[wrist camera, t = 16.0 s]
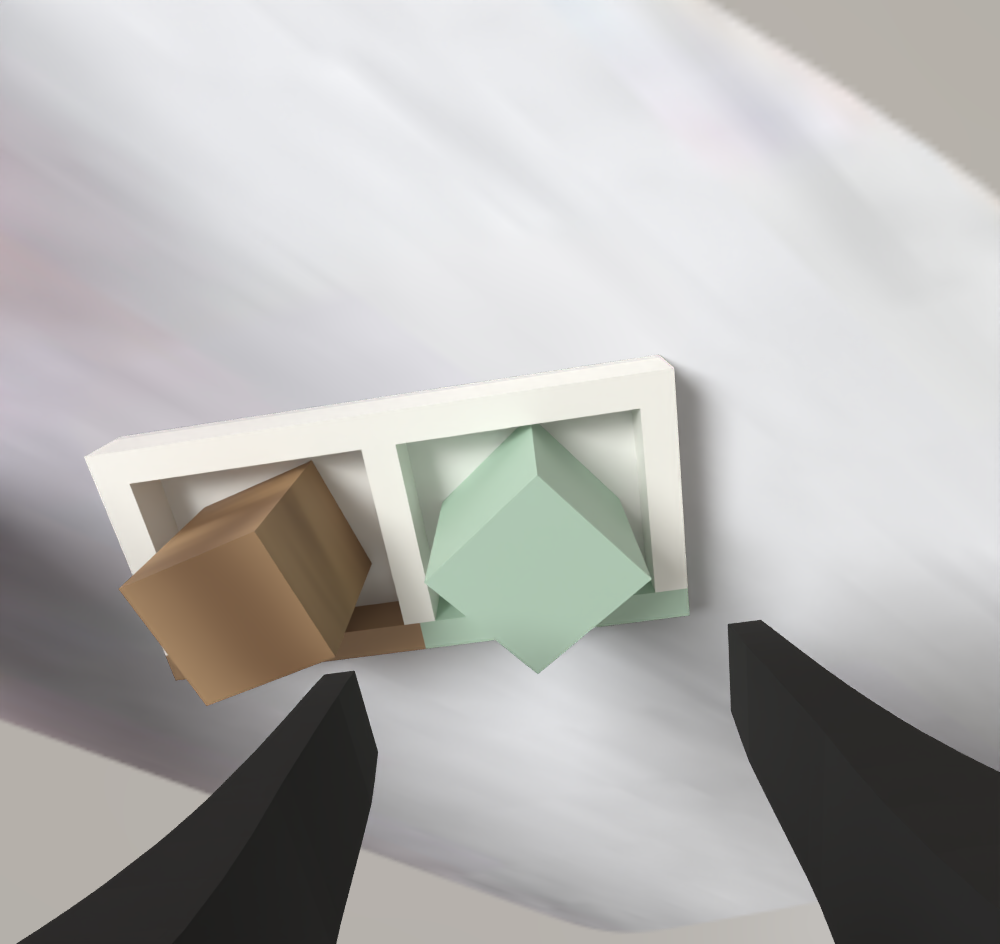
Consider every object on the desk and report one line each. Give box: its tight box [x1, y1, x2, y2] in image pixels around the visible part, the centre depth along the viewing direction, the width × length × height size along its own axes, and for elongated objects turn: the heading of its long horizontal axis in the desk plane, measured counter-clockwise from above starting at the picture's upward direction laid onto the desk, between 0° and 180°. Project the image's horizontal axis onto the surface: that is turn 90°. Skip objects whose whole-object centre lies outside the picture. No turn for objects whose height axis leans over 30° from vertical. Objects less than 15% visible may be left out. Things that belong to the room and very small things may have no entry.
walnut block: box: [119, 461, 372, 706], centre depth 19 cm, size 4×4×5 cm
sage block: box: [424, 423, 652, 674], centre depth 19 cm, size 4×4×5 cm
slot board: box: [84, 355, 689, 680], centre depth 21 cm, size 17×8×2 cm, turn 99°
